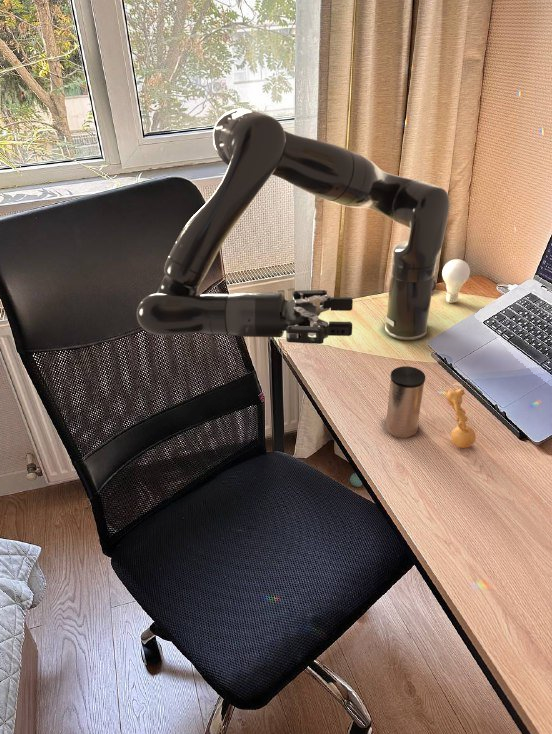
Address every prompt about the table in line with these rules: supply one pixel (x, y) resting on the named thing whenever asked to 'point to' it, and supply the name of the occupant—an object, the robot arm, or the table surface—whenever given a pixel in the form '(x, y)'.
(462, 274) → the lightbulb
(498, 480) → the table surface
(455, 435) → the figurine
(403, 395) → the canister
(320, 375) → the table surface
